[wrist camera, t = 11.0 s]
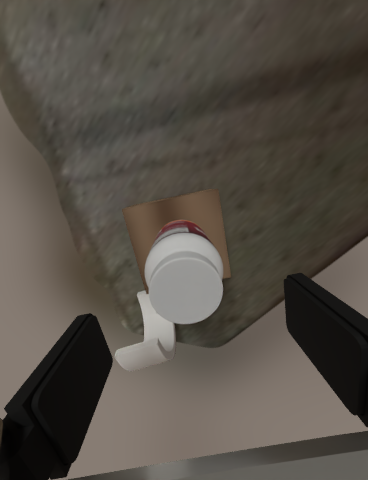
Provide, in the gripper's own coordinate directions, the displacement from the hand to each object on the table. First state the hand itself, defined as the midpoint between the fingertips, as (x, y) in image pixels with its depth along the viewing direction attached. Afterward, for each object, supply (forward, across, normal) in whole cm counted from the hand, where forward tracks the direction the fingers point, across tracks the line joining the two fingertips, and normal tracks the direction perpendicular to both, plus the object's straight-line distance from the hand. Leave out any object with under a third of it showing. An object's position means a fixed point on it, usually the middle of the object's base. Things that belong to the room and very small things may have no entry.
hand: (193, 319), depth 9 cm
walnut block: (+20, +1, 0) cm, 20 cm away
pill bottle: (+14, 0, 0) cm, 14 cm away
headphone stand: (+20, +7, +11) cm, 24 cm away
